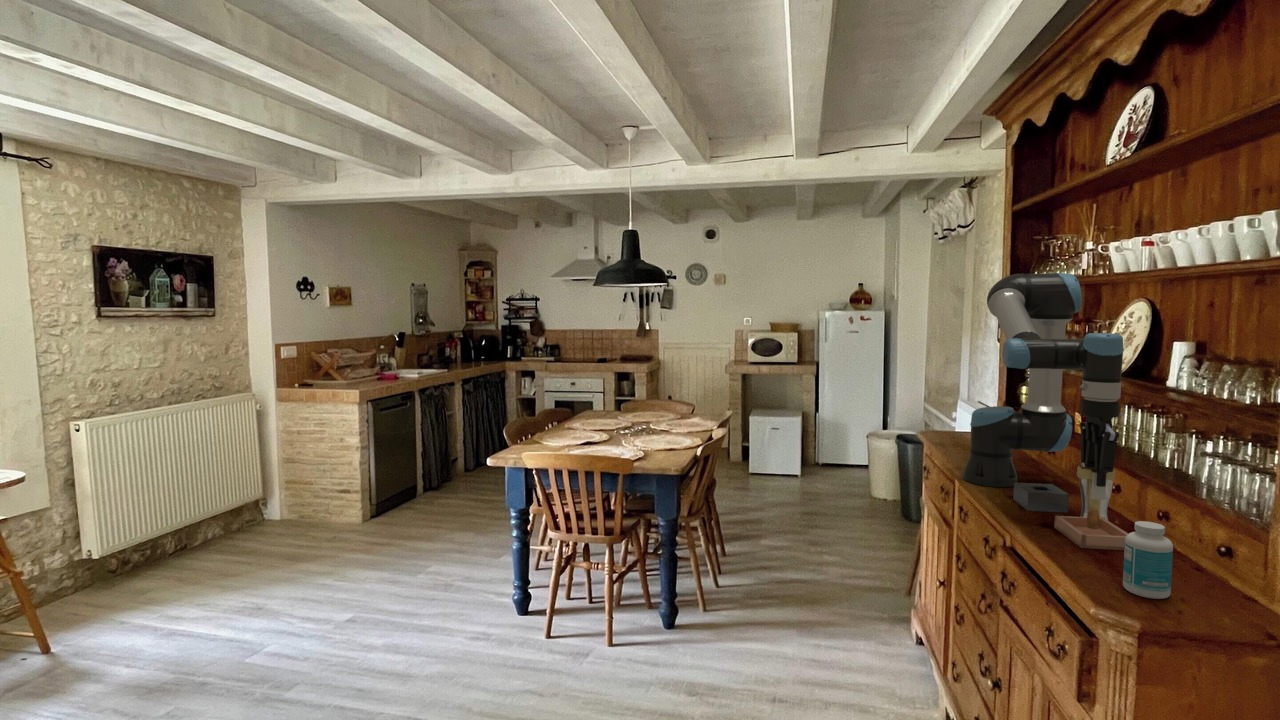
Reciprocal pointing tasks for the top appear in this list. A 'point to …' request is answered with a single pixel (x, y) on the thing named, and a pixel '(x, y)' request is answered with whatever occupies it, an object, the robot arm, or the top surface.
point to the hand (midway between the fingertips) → (1094, 497)
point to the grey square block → (1041, 497)
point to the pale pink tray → (1091, 533)
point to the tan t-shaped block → (1093, 504)
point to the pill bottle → (1148, 561)
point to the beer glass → (1102, 502)
